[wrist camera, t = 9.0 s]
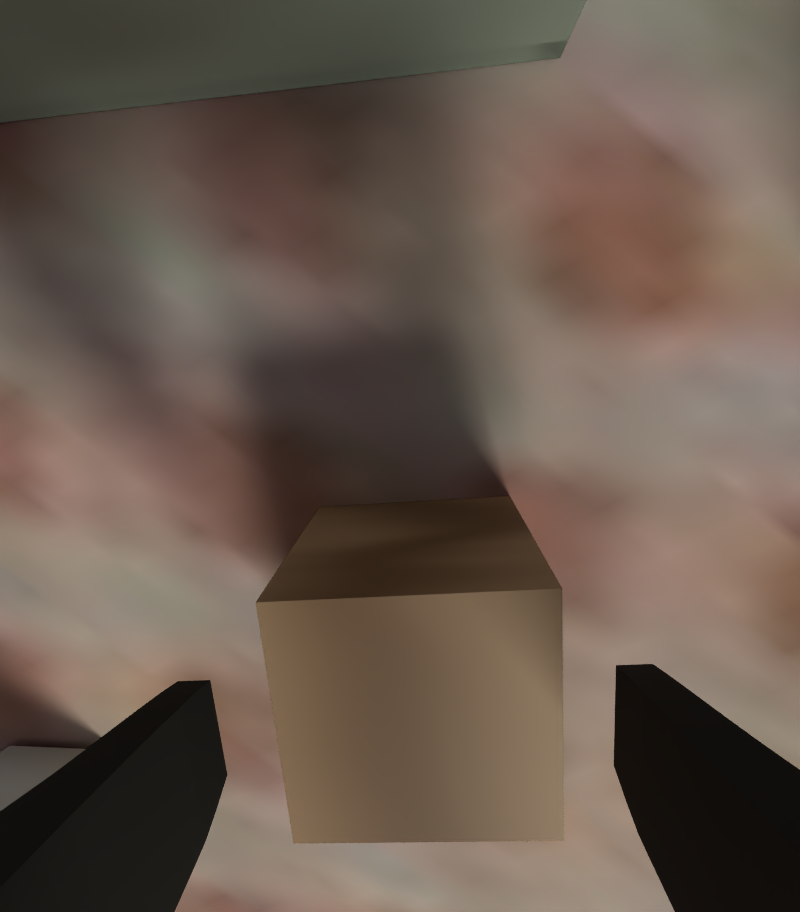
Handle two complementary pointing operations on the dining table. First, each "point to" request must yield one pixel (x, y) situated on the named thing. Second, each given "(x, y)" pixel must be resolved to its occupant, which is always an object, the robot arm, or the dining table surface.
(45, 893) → the robot arm
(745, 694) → the dining table surface
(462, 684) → the walnut cube
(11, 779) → the flask
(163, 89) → the tote
